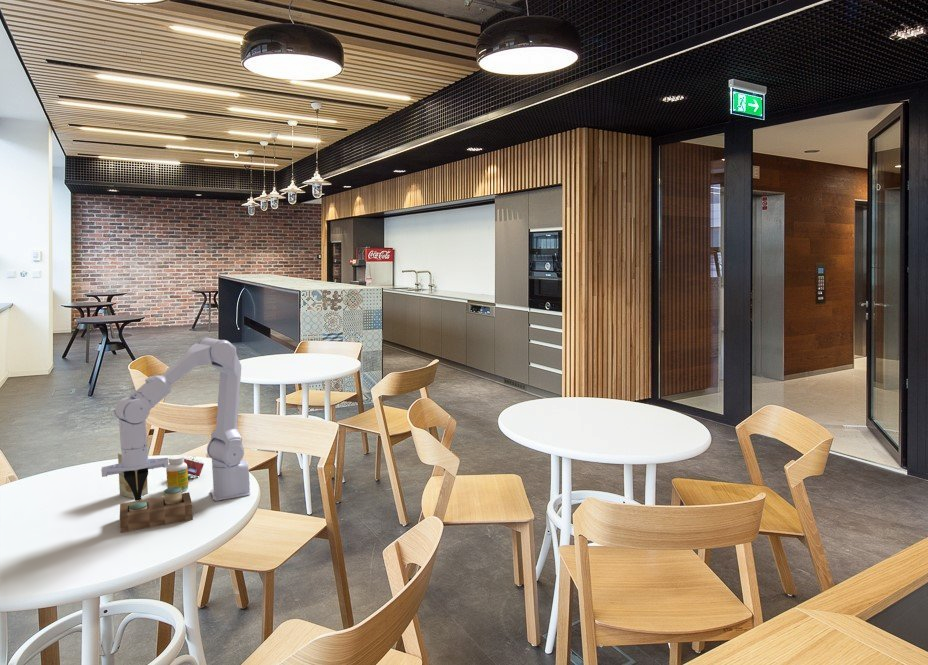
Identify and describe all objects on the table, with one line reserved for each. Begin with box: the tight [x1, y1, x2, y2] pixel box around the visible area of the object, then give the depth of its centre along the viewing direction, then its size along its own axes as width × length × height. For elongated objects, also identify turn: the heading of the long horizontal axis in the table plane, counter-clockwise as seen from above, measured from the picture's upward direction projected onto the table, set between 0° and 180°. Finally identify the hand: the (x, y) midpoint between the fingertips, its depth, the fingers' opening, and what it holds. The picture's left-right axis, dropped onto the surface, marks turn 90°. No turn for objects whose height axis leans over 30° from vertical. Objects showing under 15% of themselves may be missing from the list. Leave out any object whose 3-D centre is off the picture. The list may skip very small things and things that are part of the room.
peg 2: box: [163, 487, 183, 506], centre depth 157 cm, size 4×4×4 cm
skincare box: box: [117, 451, 149, 499], centre depth 171 cm, size 6×4×12 cm
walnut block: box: [119, 491, 194, 533], centre depth 156 cm, size 16×9×4 cm, turn 118°
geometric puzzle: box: [184, 456, 205, 478], centre depth 185 cm, size 7×7×8 cm
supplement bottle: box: [165, 454, 189, 493], centre depth 175 cm, size 5×5×10 cm
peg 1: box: [129, 502, 147, 512], centre depth 154 cm, size 4×4×4 cm
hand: (138, 498), depth 153 cm, fingers closed
